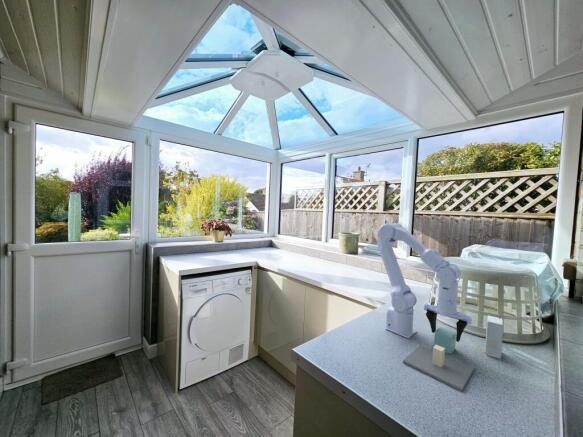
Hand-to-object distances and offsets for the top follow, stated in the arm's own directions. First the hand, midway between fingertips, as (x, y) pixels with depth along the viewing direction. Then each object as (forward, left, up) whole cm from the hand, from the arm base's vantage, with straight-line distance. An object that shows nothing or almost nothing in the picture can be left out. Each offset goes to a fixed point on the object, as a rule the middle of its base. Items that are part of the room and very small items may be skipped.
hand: (445, 336), depth 87 cm
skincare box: (+12, +10, -5) cm, 16 cm away
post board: (+2, -13, -5) cm, 14 cm away
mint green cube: (0, 0, -5) cm, 5 cm away
